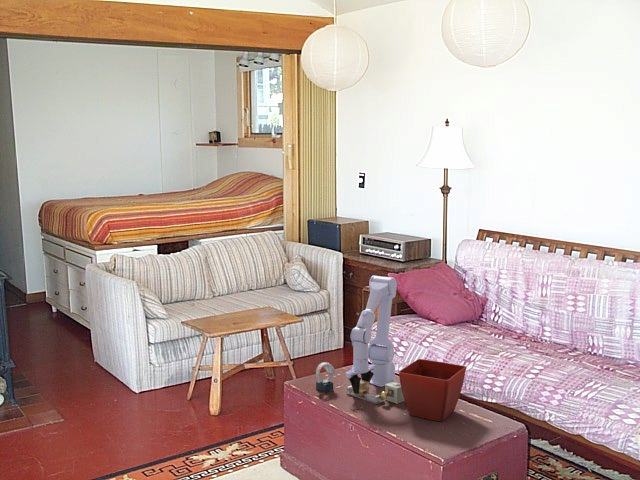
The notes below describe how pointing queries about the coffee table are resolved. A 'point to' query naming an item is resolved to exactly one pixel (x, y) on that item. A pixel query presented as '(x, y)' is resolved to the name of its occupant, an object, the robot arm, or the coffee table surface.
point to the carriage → (363, 388)
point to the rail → (365, 396)
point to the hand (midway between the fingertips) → (360, 391)
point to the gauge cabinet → (397, 395)
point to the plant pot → (431, 388)
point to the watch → (324, 384)
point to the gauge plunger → (385, 394)
